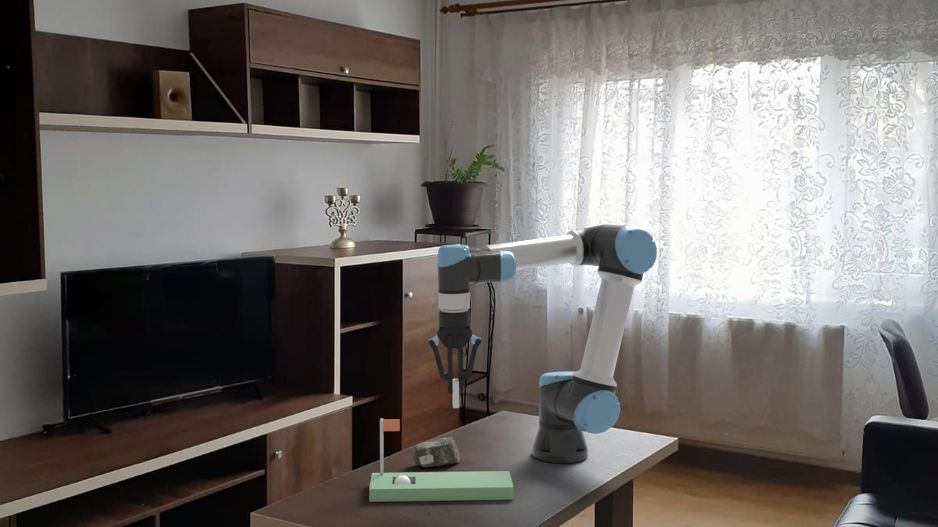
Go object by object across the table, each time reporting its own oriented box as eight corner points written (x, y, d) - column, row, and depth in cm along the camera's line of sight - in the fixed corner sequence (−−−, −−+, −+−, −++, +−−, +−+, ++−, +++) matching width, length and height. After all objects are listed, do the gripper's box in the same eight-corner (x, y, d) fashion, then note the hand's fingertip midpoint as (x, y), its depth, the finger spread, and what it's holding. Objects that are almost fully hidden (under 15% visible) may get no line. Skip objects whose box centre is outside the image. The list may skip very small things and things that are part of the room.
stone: (434, 486, 241) (415, 454, 239) (421, 483, 247) (404, 452, 245) (473, 456, 247) (456, 424, 246) (460, 453, 253) (443, 422, 252)
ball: (397, 471, 226) (392, 486, 226) (397, 476, 222) (391, 492, 222) (412, 475, 226) (407, 491, 226) (413, 480, 222) (408, 496, 222)
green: (509, 482, 232) (509, 416, 230) (513, 499, 220) (514, 429, 218) (372, 484, 230) (371, 417, 229) (369, 501, 218) (368, 430, 217)
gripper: (480, 306, 226) (481, 401, 229) (426, 308, 225) (428, 403, 228) (482, 311, 219) (484, 409, 221) (427, 312, 218) (429, 411, 220)
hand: (456, 406), depth 225 cm, fingers closed
